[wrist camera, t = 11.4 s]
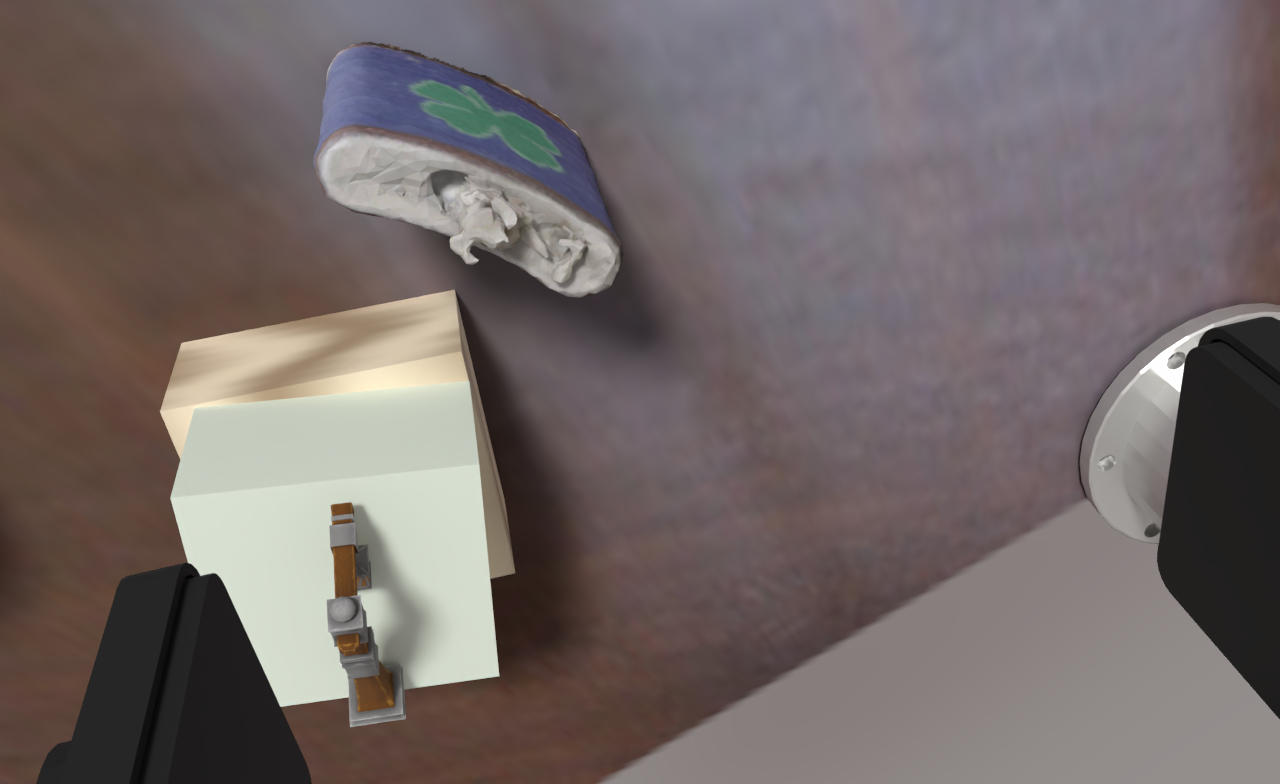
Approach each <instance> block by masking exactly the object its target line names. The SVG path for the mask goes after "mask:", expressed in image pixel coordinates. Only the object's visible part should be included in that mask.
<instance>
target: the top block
mask: <svg viewBox="0 0 1280 784" xmlns="http://www.w3.org/2000/svg"><path fill="white" fill-rule="evenodd" d="M171 502H172V506H173V509H174V513H175V516H176V520H177V524H178V527H179V531H180V535H181V538H182V542H183V546H184V549H185V553H186V557H187V560H188V563H190V564H192V565H193V566H194V567H195V568H196V569H197V570H198V572H199V574H200V576H202V575H206V574H211V573H215V574H217V575H218V576H219V577H220V578H221V580H222V581H223V583H224V585H225V587H226V589H227V591H228V594H229V596H230V598H231V600H232V602H233V605H234V607H235V609H236V611H237V613H238V615H239V618H240V620H241V622H242V624H243V626H244V629H245V631H246V633H247V635H248V637H249V639H250V642H251V644H252V646H253V648H254V650H255V652H256V655H257V657H258V659H259V661H260V663H261V666H262V668H263V670H264V672H265V674H266V676H267V679H268V681H269V683H270V685H271V687H272V690H273V692H274V694H275V696H276V698H277V700H278V703H279V705H280V707H281V706H289V705H296V704H303V703H310V702H317V701H324V700H332V699H339V698H346V697H349V685H348V675H347V672H346V670H345V669H344V668H342V665H340V654H339V649H338V647H334V640H333V638H332V635H331V633H329V632H328V621H327V601H326V600H327V599H335V584H334V558H333V553H332V551H331V548H330V530H329V526H330V525H332V522H331V516H332V513H331V505H332V504H340V503H348V502H351V503H352V505H353V508H354V520H355V526H356V530H357V535H358V545H366V544H368V552H369V561H371V580H372V589H365V590H359V591H357V592H358V595H361V602H362V605H363V608H364V610H365V611H366V617H367V627H369V626H372V629H373V633H374V641H375V644H376V645H378V657H379V661H380V662H381V663H382V664H383V665H384V666H391V665H398V664H400V667H403V680H404V689H411V688H418V687H425V686H432V685H440V684H447V683H454V682H461V681H468V680H476V679H483V678H490V677H497V676H499V668H498V657H497V647H496V636H495V625H494V615H493V604H492V594H491V583H490V573H489V562H488V551H487V541H486V530H485V520H484V509H483V499H482V488H481V478H480V467H479V458H478V450H477V441H476V433H475V424H474V416H473V408H472V399H471V391H470V382H469V381H463V382H453V383H443V384H432V385H422V386H412V387H402V388H392V389H381V390H371V391H361V392H351V393H341V394H330V395H320V396H310V397H300V398H290V399H279V400H269V401H259V402H249V403H239V404H228V405H218V406H208V407H198V408H194V412H193V415H192V419H191V423H190V427H189V430H188V434H187V438H186V442H185V445H184V449H183V453H182V457H181V460H180V464H179V468H178V472H177V475H176V479H175V483H174V487H173V490H172V494H171Z"/></svg>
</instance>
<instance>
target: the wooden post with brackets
mask: <svg viewBox="0 0 1280 784" xmlns="http://www.w3.org/2000/svg"><path fill="white" fill-rule="evenodd" d="M331 513H332V516H331V522H332V525H330V526H329V530H330V548H331V551H332V553H333V558H334V584H335V599H327V600H326V601H327V621H328V632H329V633H331V635H332V638H333V640H334V647H338V649H339V654H340V665H342V668H344V669H345V670H346V672H347V675H348V685H349V714H350V727H354V726H360V725H367V724H374V723H381V722H387V721H394V720H401V719H406V712H405V696H404V680H403V667H400V664H398V665H391V666H384V665H383V664H382V663H381V662H380V661H379V657H378V645H376V644H375V641H374V633H373V629H372V626H369V627H367V617H366V611H365V610H364V608H363V605H362V602H361V595H358V592H357V591H359V590H365V589H372V580H371V561H369V552H368V544H366V545H358V535H357V530H356V526H355V520H354V508H353V505H352V503H351V502H348V503H340V504H332V505H331Z"/></svg>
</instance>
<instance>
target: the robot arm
mask: <svg viewBox="0 0 1280 784" xmlns="http://www.w3.org/2000/svg"><path fill="white" fill-rule="evenodd" d="M1080 471H1081V481H1082V484H1083V487H1084V490H1085V492H1086V495H1087V498H1088V499H1089V501H1090V502H1091V503H1092V505H1093V506H1094V507H1095V509H1096V510H1097V512H1098V513H1099V514H1100V515H1101V516H1102V517H1103V518H1104V519H1105V520H1106V521H1107V522H1108V523H1109V524H1110V525H1111V526H1112V528H1114V529H1115V530H1117V531H1119V532H1121V533H1122V534H1124V535H1126V536H1127V537H1129V538H1133V539H1135V540H1138V541H1142V542H1146V543H1155V544H1159V546H1158V553H1157V562H1158V567H1159V572H1160V575H1161V578H1162V580H1163V582H1164V584H1165V586H1166V587H1167V589H1168V590H1169V592H1170V593H1171V594H1172V595H1173V596H1174V598H1175V599H1176V600H1177V601H1178V602H1179V604H1180V605H1181V606H1182V607H1183V608H1184V609H1185V610H1186V612H1187V613H1188V614H1189V615H1190V616H1191V617H1192V618H1193V620H1194V621H1195V622H1196V623H1197V624H1198V625H1199V627H1200V628H1201V629H1202V630H1203V631H1204V632H1205V634H1206V635H1207V636H1208V637H1209V638H1210V639H1211V640H1212V642H1213V643H1214V644H1215V645H1216V646H1217V647H1218V649H1219V650H1220V651H1221V652H1222V653H1223V654H1224V656H1225V657H1226V658H1227V659H1228V660H1229V661H1230V662H1231V663H1232V665H1233V666H1234V667H1235V668H1236V669H1237V671H1238V672H1239V673H1240V674H1241V675H1242V676H1243V677H1244V679H1245V680H1246V681H1247V682H1248V683H1249V684H1250V686H1251V687H1252V688H1253V689H1254V690H1255V691H1256V693H1257V694H1258V695H1259V696H1260V697H1261V698H1262V699H1263V701H1264V702H1265V703H1266V704H1267V705H1268V706H1269V708H1270V709H1271V710H1272V711H1273V712H1274V713H1275V714H1276V716H1277V717H1278V718H1279V719H1280V305H1274V304H1268V303H1258V304H1240V305H1236V306H1231V307H1227V308H1222V309H1218V310H1214V311H1212V312H1209V313H1207V314H1204V315H1202V316H1199V317H1197V318H1194V319H1191V320H1189V321H1187V322H1185V323H1184V324H1182V325H1180V326H1178V327H1177V328H1175V329H1173V330H1171V331H1170V332H1168V333H1166V334H1164V335H1163V336H1161V337H1160V338H1159V339H1157V340H1156V341H1155V342H1154V343H1152V344H1151V345H1150V346H1148V347H1147V348H1146V349H1144V350H1143V351H1142V352H1140V353H1139V354H1138V355H1137V356H1136V357H1135V358H1134V359H1133V360H1132V361H1131V362H1130V363H1129V364H1128V365H1127V366H1126V367H1125V368H1124V369H1123V370H1122V371H1121V372H1120V373H1119V374H1118V376H1117V377H1116V378H1115V380H1114V381H1113V382H1112V384H1111V385H1110V386H1109V388H1108V389H1107V390H1106V392H1105V393H1104V394H1103V396H1102V397H1101V399H1100V401H1099V403H1098V405H1097V407H1096V408H1095V410H1094V412H1093V414H1092V416H1091V417H1090V420H1089V423H1088V426H1087V429H1086V432H1085V435H1084V438H1083V441H1082V448H1081V455H1080ZM36 784H312V783H311V777H310V773H309V770H308V767H307V764H306V761H305V759H304V757H303V755H302V753H301V751H300V748H299V746H298V744H297V742H296V740H295V737H294V735H293V733H292V731H291V729H290V727H289V724H288V722H287V720H286V718H285V716H284V713H283V711H282V709H281V707H280V705H279V703H278V700H277V698H276V696H275V694H274V692H273V690H272V687H271V685H270V683H269V681H268V679H267V676H266V674H265V672H264V670H263V668H262V666H261V663H260V661H259V659H258V657H257V655H256V652H255V650H254V648H253V646H252V644H251V642H250V639H249V637H248V635H247V633H246V631H245V629H244V626H243V624H242V622H241V620H240V618H239V615H238V613H237V611H236V609H235V607H234V605H233V602H232V600H231V598H230V596H229V594H228V591H227V589H226V587H225V585H224V583H223V581H222V580H221V578H220V577H219V576H218V575H217V574H215V573H211V574H206V575H202V576H200V574H199V572H198V570H197V569H196V568H195V567H194V566H193V565H192V564H190V563H183V564H178V565H174V566H170V567H165V568H161V569H156V570H152V571H148V572H143V573H139V574H135V575H130V576H126V577H125V578H123V579H122V580H121V581H120V583H119V585H118V587H117V590H116V594H115V597H114V600H113V604H112V607H111V610H110V614H109V617H108V620H107V624H106V627H105V630H104V634H103V637H102V640H101V644H100V647H99V650H98V654H97V657H96V660H95V664H94V667H93V670H92V674H91V677H90V680H89V684H88V687H87V690H86V694H85V697H84V700H83V704H82V707H81V710H80V714H79V717H78V721H77V724H76V727H75V731H74V734H73V737H72V741H68V742H64V743H60V744H57V745H56V746H55V747H54V748H53V749H52V750H51V751H50V752H49V753H48V755H47V757H46V759H45V762H44V764H43V766H42V768H41V771H40V774H39V777H38V780H37V783H36Z"/></svg>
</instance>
